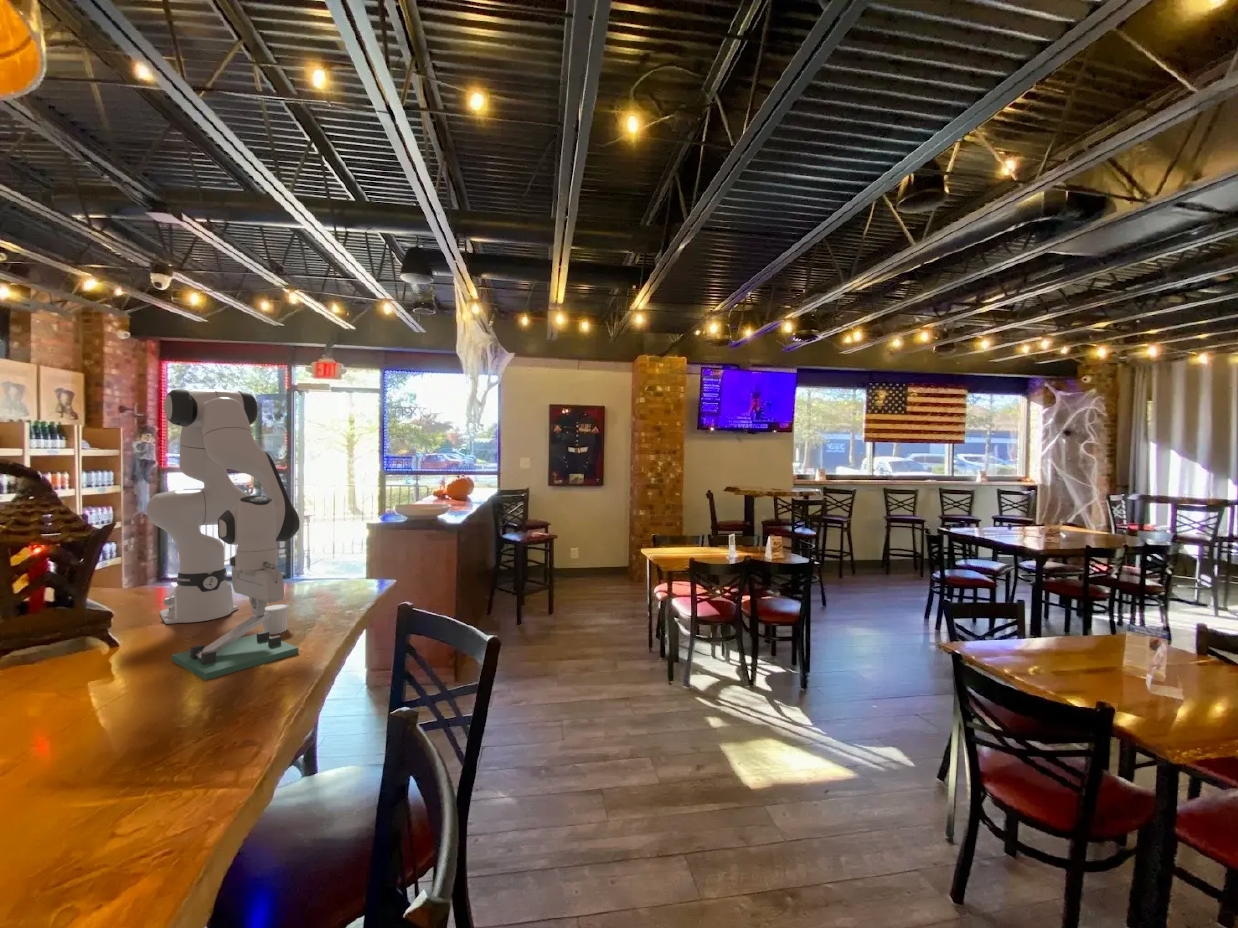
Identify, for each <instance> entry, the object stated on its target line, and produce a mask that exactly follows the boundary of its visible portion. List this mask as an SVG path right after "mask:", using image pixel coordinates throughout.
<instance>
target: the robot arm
mask: <svg viewBox="0 0 1238 928" xmlns="http://www.w3.org/2000/svg"><path fill="white" fill-rule="evenodd" d="M163 411H164V414H165V416H166V419H167V421H169V422H170V423H171V424H173V425H174V426H178V427H181V429H180V435H179V436H180V438H179V470H180V471H181V472H182V473H183V474H184V475H186V476H187V477H189V478H191V479H194V480H196V481H199V482H202V483H203V487H202V488H200V489H180V490H179V489H178V490H177V489H176V490H169V491H164V492H159V493H155V494H154V495H152V497H151V498H150V499H149V501H148V502H147V504H146V509H145V510H146V511H145V512H146V516H147V518H148V520H149V521H150V523H152V524H153V525H154V526H156V527H158V528H160V529H162V530H163V531H164V532H166V533H167V534H168V535H169V536H170V537H171V538H172V539H173V541H174V542H175V545H176V547H177V552H178V561H179V572H178V573H177V577H176V586H175V588H174V589H173V591H171V593H170V594H169V597H165V598H164V599H163V604H164V606H165V607H167V606H168V607H167V608H165V609H161V610H160V612H159V615H160V616H161V619H162V620H163V622H164V623H165V624H166V625H167V624H168V625H169V624H170V625H171V624H177V623H178V624H179V623H181V624H182V623H187V624H188V623H198V622H206V621H210V620H211V621H212V620H216V619H220V618H224V617H226V616H229V615H230V614H232V613H233V612H234V611H237V610H239V606H238V605H236V604H234V601H233V600H234V597H233V591H234V593H236V594H238V595H239V594H240V595H242V596H245V597H248V600H249V604H250V607H251V614H252V615H257V616H261V615H264V614H265V607H266V606H267V604H272V603H276V602H281V601H283V600H284V598H285V586H284V585H285V584H284V578H283V577H284V576H283V573H282V571H281V570H280V569H279V568H278V567H277V566H278V565H279V556H278V555H279V554H278V553H279V549H278V548H279V547H278V542H288V541H289V540H291V539H292V538H293V537H294V536H295V535H296V534H297V533H298V531H299V529H300V526H301V524H300V523H301V522H300V518H299V514H298V512H297V510H296V508H295V506H294V505H293V504H292V502H291V500H290V498H289V496H288V493H287V490H286V488H285V485H284V483H283V481H282V478H281V476H280V473H279V471H278V468H277V465H276V464H275V462H274V460H273V458H272V456H271V455H270V454H269V453H268V452H265V451H264V450H263V449H262V448H261V447H260V446H259V445H258V443H257V442H256V441H255V439H254V437H253V432H252V428H251V425H252V424H254V423H255V422H256V421H257V417H258V413H259V406H258V403H257V400H256V398H255V397H254V396H253V395H252V394H251V393H248V392H245V391H241V390H238V391H234V390H229V389H218V388H211V389H207V388H205V389H204V388H201V389H200V388H197V389H196V388H195V389H192V388H191V389H187V388H177V389H172V390H171V391H170V392H168V393H167V395H166V397H165V399H164V403H163ZM228 469H229V470H231V471H232V470H233V471H235V472H236V471H237V472H240V473H243V474H245V475H249V476H251V477H253V478H254V479H256V480H257V481H259V483H260V485H261V487H262V490H263V492H264V494H265V495H263V496H262V495H249V494H248V493H247V492H246V491H245V490H243V489H242V488H240V487H238V486H237V484H235V483H234V482H233V481H232V479H231V478H230V476H229V474H228V471H227V470H228ZM207 525H217V536H218V538H219V539H218V538H217V537H213V536H212V535H211V536H210V535H207V534H204V533H202V532H201V529H200V528H201V526H207ZM223 542H224V543H226V544H228V545H232V546H233V545H234V546H236V554H235V555H233V556H231V557H229V566H231V584H230V583H229V582H228V581H226V580H227V568H226V567H225V545H224V543H223ZM232 588H233V589H232Z"/></svg>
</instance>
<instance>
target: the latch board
mask: <svg viewBox="0 0 1238 928" xmlns="http://www.w3.org/2000/svg"><path fill="white" fill-rule="evenodd" d="M206 646H207V645H206ZM206 646H205V645H204V644H198V645H194V646H190V647H189V650H184V651H181V652H177V653H173V654H171V662H173V663H175V664H177V665H179V666H180V667H182V668H184V669H185V670H187V671H189V672H191V673H192V674H194V675H196V676H198V677H199V678H201V679H203V680H204V681H208V680H212V679H214V678H218V677H221V676H225V675H228V674H232V673H235V672H238V671H243V670H246V669H250V668H252V667H256V666H260V665H263V664H266V663H271V662H274V661H277V660H280V659H284V658H288V657H292V656H295V655H298V654H299V647H298V646H296V645H293V644H290V643H288V642H285V641H283V640H282V636H280V635H278V634H277V635H275V636H270V635H269V631H264V630H263V631H260V632H257V633H254V634H251V635H247V636H246V635H245V636H241V637H240V638H239V639H237V640H236V641H234V642H233V643H231V644H230V645H228V646H227V647H225V648H224V649H222V650H221V651H219V652H218V653H216V651H214V650H211V651H207V652H203V653H201V659H199V658H197V657H196V656H195V653H196V652H197V651H198V650H202V649H203V648H205V647H206ZM273 660H274V661H273Z"/></svg>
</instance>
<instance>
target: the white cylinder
mask: <svg viewBox="0 0 1238 928" xmlns="http://www.w3.org/2000/svg"><path fill="white" fill-rule="evenodd" d="M265 612H268V613H269V614H270V616H271V617H270V618H268V619H267V620H265V621H264V622H262V626H263V632H264V631H269V636H270V635H278V633H279V634H283V633H285V632H287V631H288V626H289V624H288V623H289V614H290V604H288V603H287V604H286V603H275V604H270V605H266V607H265ZM286 630H287V631H286ZM284 631H285V632H284ZM282 632H283V633H282Z"/></svg>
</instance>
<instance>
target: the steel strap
mask: <svg viewBox="0 0 1238 928" xmlns="http://www.w3.org/2000/svg"><path fill="white" fill-rule="evenodd" d="M270 617H271V616H270V614H269V613H268V612H265V614H264V615H261V616H257V615H254V614H252V616H250V617H249V618H247V619H246V620H244V621H243V622H241V623H240V624H238V625H236V626H235V627H233V628H232V629H231V630H229V631H227V632H225V634H223V635H221V636H220V637H218V638H217V639H216V640H214V641H212V642H211V643H210V644H208V645H206V647H205V646H204V647H205V648H203V649H202V650H198V651H197V652H196V653H195V656H196V657H197V658H199V659H201V653H203V652H207V651H211V650H214V651H216V653H218V652H219V651H221V650H222V649H224V648H225V647H227V646H228V645H230V644H231V643H233V642H234V641H236V640H237V639H239V638H242V637H244V636H245V635H246V634H247V633H249V632H251V631H252V630H253V629H255V628H257V627H258V626H259V625H261V624H263V622H264V621H265V620H267V619H268V618H270Z"/></svg>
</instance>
